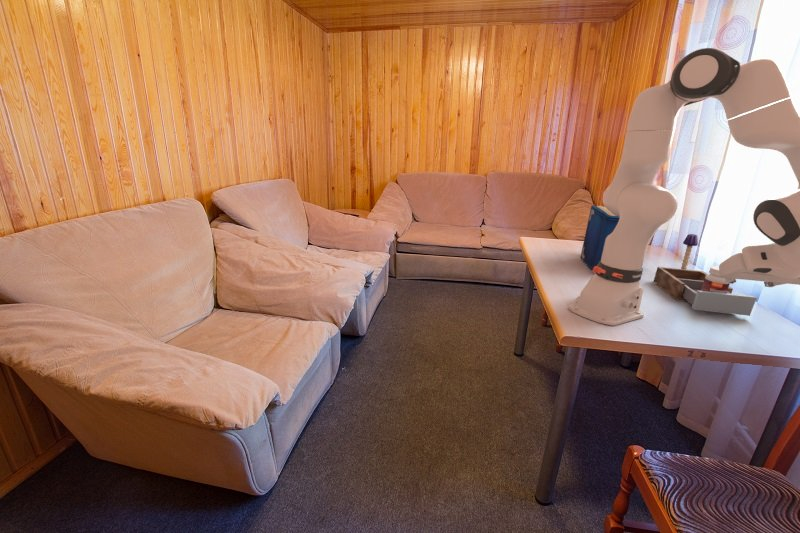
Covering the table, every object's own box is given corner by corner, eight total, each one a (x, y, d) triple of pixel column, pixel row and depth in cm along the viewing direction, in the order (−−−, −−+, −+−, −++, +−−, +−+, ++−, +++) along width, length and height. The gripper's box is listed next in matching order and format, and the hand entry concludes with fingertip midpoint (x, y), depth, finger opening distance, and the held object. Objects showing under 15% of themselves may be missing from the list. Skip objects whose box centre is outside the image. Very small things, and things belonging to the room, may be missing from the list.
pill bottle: (705, 304, 114) (717, 271, 111) (693, 297, 120) (704, 265, 116) (727, 306, 114) (739, 273, 110) (713, 298, 119) (724, 266, 116)
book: (612, 277, 142) (628, 214, 134) (593, 275, 144) (607, 213, 136) (596, 260, 163) (608, 205, 154) (579, 259, 164) (590, 204, 156)
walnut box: (727, 305, 120) (733, 288, 118) (676, 300, 123) (681, 283, 121) (697, 285, 136) (702, 271, 134) (653, 281, 139) (657, 266, 137)
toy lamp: (683, 276, 146) (695, 236, 141) (671, 272, 150) (683, 233, 145) (690, 275, 148) (703, 235, 143) (678, 271, 152) (690, 232, 147)
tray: (749, 315, 110) (756, 297, 108) (693, 309, 113) (699, 291, 111) (713, 292, 127) (718, 276, 125) (665, 287, 130) (670, 271, 128)
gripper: (834, 253, 89) (788, 276, 101) (738, 245, 93) (705, 269, 105) (843, 276, 86) (794, 297, 98) (743, 267, 90) (709, 289, 102)
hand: (747, 282), depth 102 cm, fingers open, 8 cm apart
